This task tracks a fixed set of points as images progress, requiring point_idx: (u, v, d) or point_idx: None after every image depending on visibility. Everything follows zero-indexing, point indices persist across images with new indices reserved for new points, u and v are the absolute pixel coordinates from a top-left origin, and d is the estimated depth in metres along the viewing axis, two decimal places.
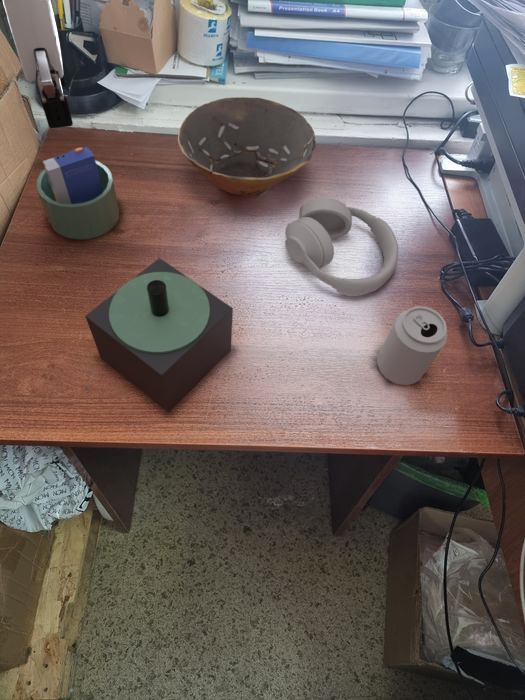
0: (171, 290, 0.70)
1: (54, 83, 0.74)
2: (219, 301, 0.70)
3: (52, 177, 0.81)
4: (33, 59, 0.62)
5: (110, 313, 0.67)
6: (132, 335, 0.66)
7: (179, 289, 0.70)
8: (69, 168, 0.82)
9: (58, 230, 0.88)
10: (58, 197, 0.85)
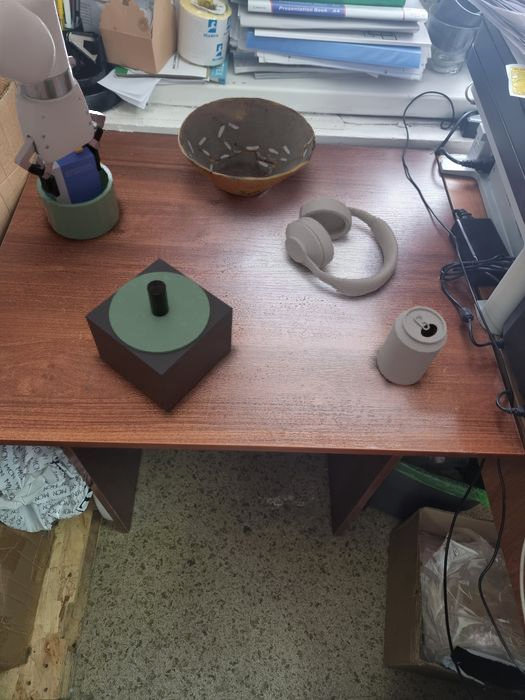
0: (171, 290, 0.70)
1: None
2: (219, 301, 0.70)
3: None
4: None
5: (110, 313, 0.67)
6: (132, 335, 0.66)
7: (179, 289, 0.70)
8: (69, 168, 0.82)
9: (58, 230, 0.88)
10: (58, 197, 0.85)
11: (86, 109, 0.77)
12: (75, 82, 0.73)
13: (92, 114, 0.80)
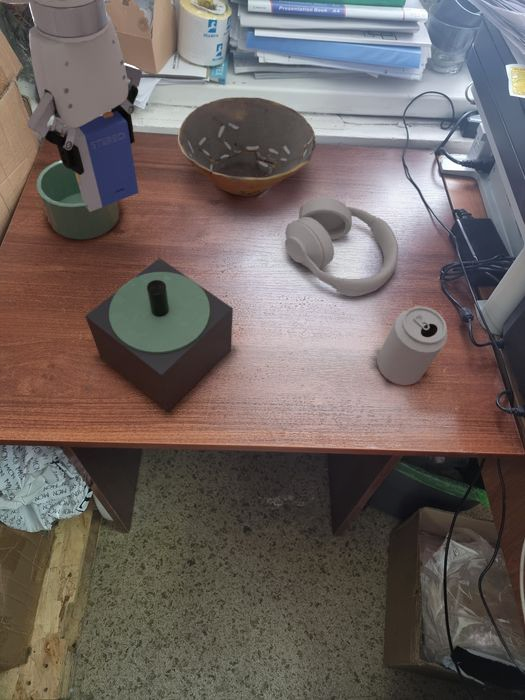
0: (171, 290, 0.70)
1: None
2: (219, 301, 0.70)
3: None
4: None
5: (110, 313, 0.67)
6: (132, 335, 0.66)
7: (179, 289, 0.70)
8: (96, 137, 0.64)
9: (58, 230, 0.88)
10: (81, 175, 0.67)
11: (120, 58, 0.59)
12: (108, 19, 0.55)
13: (126, 67, 0.62)
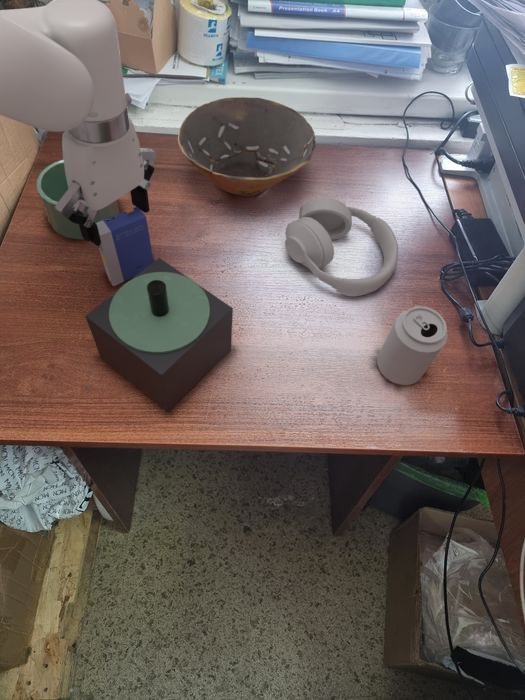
0: (171, 290, 0.70)
1: (139, 206, 0.78)
2: (219, 301, 0.70)
3: (102, 242, 0.75)
4: None
5: (110, 313, 0.67)
6: (132, 335, 0.66)
7: (179, 289, 0.70)
8: (120, 231, 0.76)
9: (58, 230, 0.88)
10: (107, 260, 0.79)
11: (139, 151, 0.68)
12: (130, 122, 0.64)
13: (143, 153, 0.71)
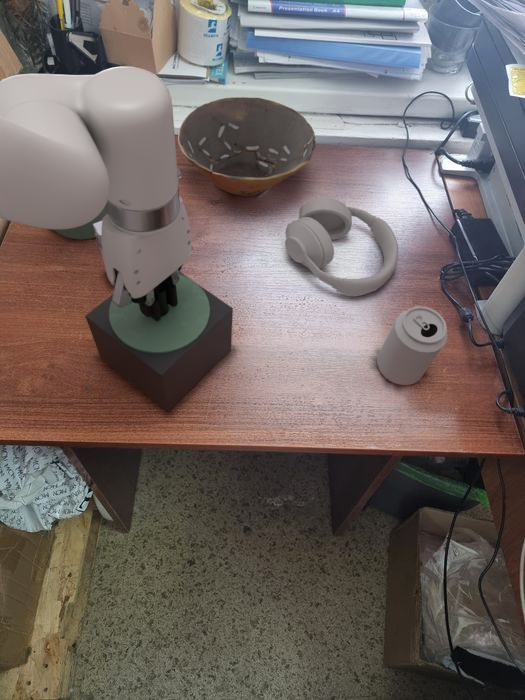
0: None
1: None
2: (219, 301, 0.70)
3: None
4: (112, 273, 0.57)
5: (110, 313, 0.67)
6: (132, 335, 0.66)
7: (179, 289, 0.70)
8: None
9: (58, 230, 0.88)
10: None
11: (187, 228, 0.58)
12: (179, 200, 0.55)
13: None
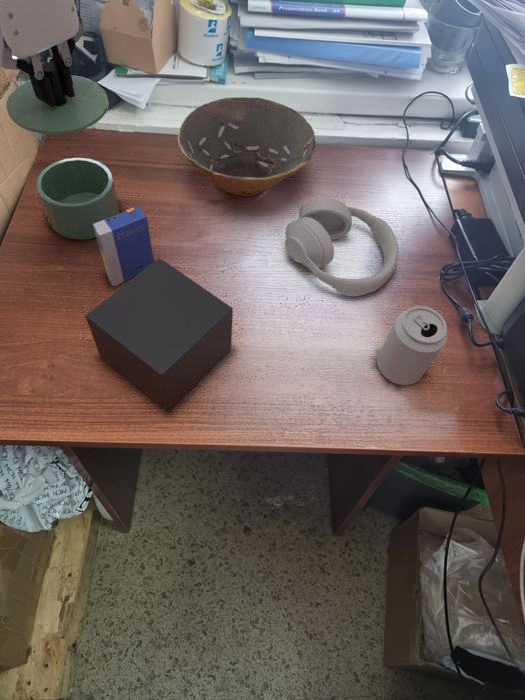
0: None
1: None
2: (219, 301, 0.70)
3: (103, 241, 0.75)
4: None
5: (8, 102, 0.69)
6: (26, 118, 0.67)
7: (80, 87, 0.72)
8: (121, 231, 0.76)
9: (58, 230, 0.88)
10: (107, 260, 0.79)
11: None
12: None
13: None
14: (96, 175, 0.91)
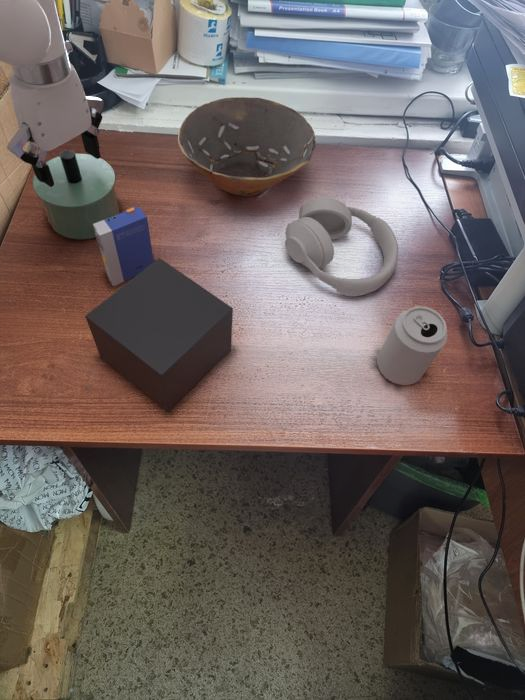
0: (85, 166, 0.87)
1: (91, 152, 0.85)
2: (219, 301, 0.70)
3: (103, 241, 0.75)
4: None
5: (34, 180, 0.85)
6: (49, 195, 0.83)
7: (92, 165, 0.88)
8: (121, 231, 0.76)
9: (58, 230, 0.88)
10: (107, 260, 0.79)
11: (83, 96, 0.75)
12: (72, 68, 0.72)
13: (90, 100, 0.78)
14: None
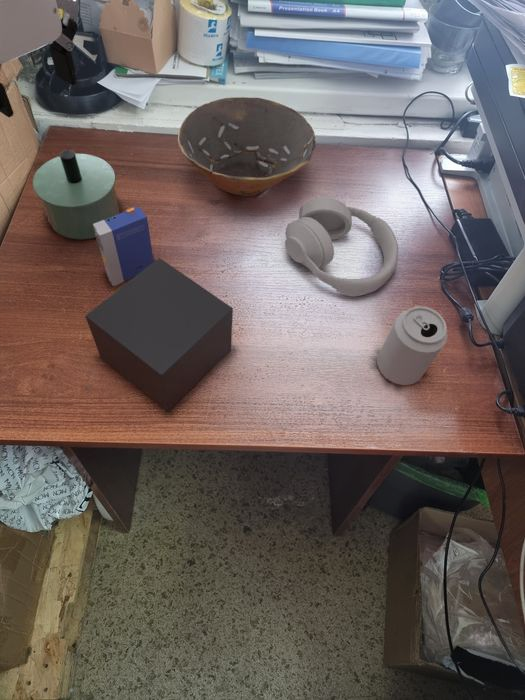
0: (85, 166, 0.87)
1: (64, 77, 0.65)
2: (219, 301, 0.70)
3: (103, 241, 0.75)
4: None
5: (34, 180, 0.85)
6: (49, 195, 0.83)
7: (92, 165, 0.88)
8: (121, 231, 0.76)
9: (58, 230, 0.88)
10: (107, 260, 0.79)
11: None
12: None
13: None
14: None
